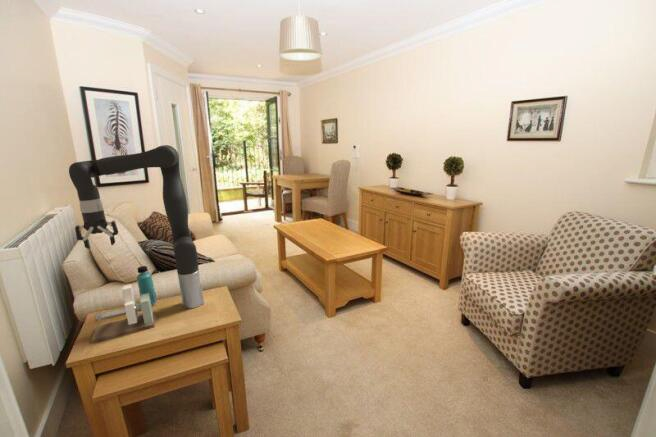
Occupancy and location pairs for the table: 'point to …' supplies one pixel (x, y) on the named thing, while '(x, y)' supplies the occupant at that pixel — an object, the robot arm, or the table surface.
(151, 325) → the pipe board
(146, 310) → the mount block
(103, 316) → the steel pipe
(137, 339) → the table surface
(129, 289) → the white stepped block
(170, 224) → the robot arm
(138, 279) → the beverage bottle
